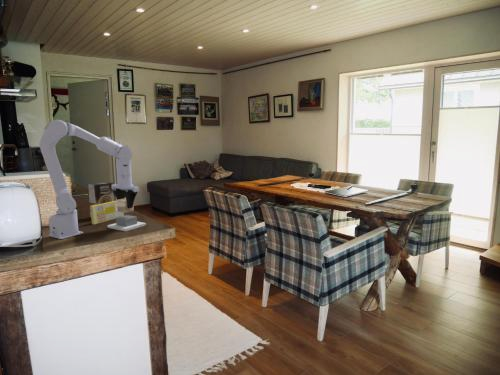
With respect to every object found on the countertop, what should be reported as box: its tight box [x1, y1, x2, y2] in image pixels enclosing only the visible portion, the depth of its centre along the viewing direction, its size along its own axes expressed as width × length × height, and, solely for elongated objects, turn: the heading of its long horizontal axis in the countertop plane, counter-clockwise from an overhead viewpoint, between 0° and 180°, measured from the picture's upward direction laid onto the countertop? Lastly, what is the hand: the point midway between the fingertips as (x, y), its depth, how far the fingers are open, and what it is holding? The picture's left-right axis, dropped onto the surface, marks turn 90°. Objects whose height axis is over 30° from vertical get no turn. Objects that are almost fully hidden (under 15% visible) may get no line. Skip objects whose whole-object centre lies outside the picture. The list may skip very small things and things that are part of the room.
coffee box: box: [88, 181, 115, 218], centre depth 167 cm, size 9×6×16 cm
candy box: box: [89, 200, 125, 225], centre depth 161 cm, size 16×2×8 cm, turn 149°
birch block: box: [116, 197, 135, 214], centre depth 150 cm, size 4×4×5 cm
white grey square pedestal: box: [107, 214, 147, 232], centre depth 151 cm, size 11×11×4 cm
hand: (126, 207), depth 150 cm, fingers closed on birch block, 4 cm apart
